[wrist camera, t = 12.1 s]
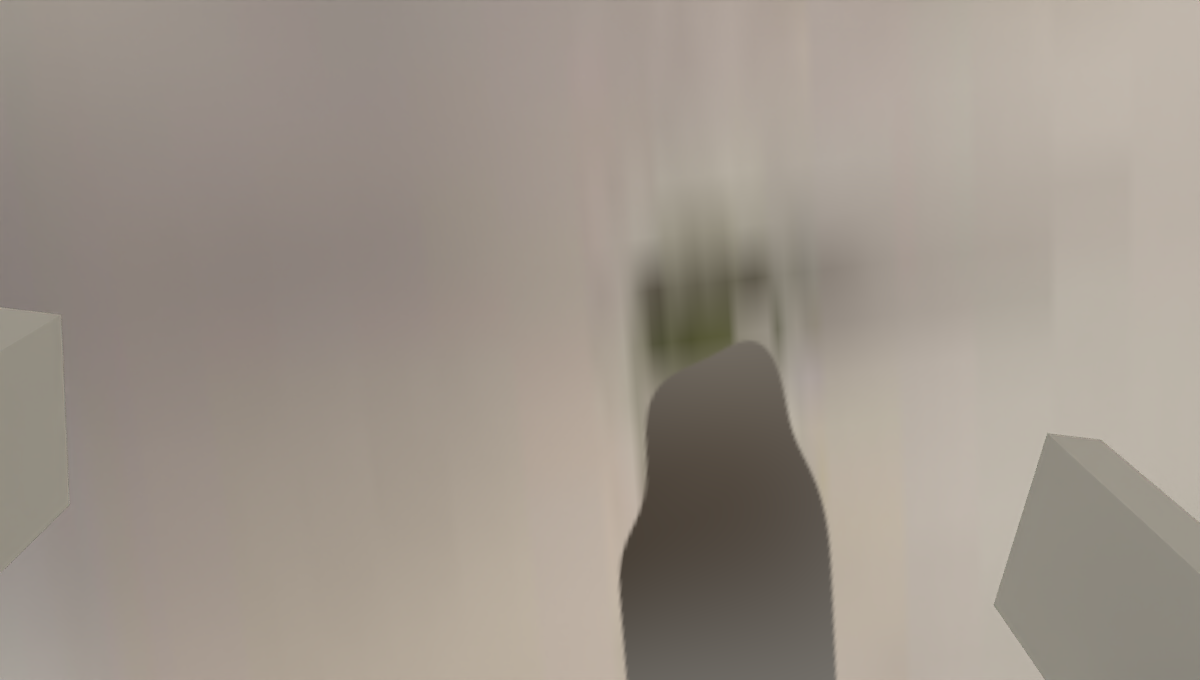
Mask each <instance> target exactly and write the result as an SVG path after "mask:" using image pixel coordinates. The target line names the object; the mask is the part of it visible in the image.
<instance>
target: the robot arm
mask: <svg viewBox="0 0 1200 680" xmlns="http://www.w3.org/2000/svg"><path fill="white" fill-rule="evenodd" d="M68 506H69V482H68V459H67V436H66V413H65V390H64V367H63V344H62V321H61V314H52V313H44V312H36V311H27V310H19V309H11V308H2V307H0V573H1V572H2V571H3V570H4V569H5V568H6V567H7V566H8V565H9V564H10V563H11V562H12V561H13V560H14V559H15V558H16V557H17V556H18V555H19V554H20V553H21V552H22V551H23V550H24V549H25V548H26V547H27V546H28V545H29V544H30V543H31V542H32V541H34V540H35V539H36V538H37V537H38V536H39V535H40V534H41V533H42V532H43V531H44V530H45V529H46V528H47V527H48V526H49V525H50V524H51V523H52V522H53V521H54V520H55V519H56V518H57V517H58V516H59V515H60V514H61V513H62V512H63V511H64V510H65V509H66V508H67V507H68ZM994 606H995V608H996V609H997V610H998V612H999V613H1000V615H1001V616H1002V618H1003V619H1004V621H1005V622H1006V624H1007V625H1008V626H1009V628H1010V629H1011V631H1012V632H1013V634H1014V635H1015V637H1016V638H1017V640H1018V641H1019V643H1020V644H1021V645H1022V647H1023V648H1024V650H1025V651H1026V653H1027V654H1028V656H1029V657H1030V659H1031V660H1032V661H1033V663H1034V664H1035V666H1036V667H1037V669H1038V670H1039V672H1040V673H1041V675H1042V676H1043V677H1044V679H1045V680H1200V523H1199V522H1198V521H1197V520H1196V519H1195V518H1193V517H1192V516H1191V515H1190V514H1189V513H1188V512H1186V511H1185V510H1184V509H1183V508H1182V507H1180V506H1179V505H1178V504H1177V503H1176V502H1174V501H1173V500H1172V499H1171V498H1170V497H1168V496H1167V495H1166V494H1165V493H1164V492H1163V491H1161V490H1160V489H1159V488H1158V487H1157V486H1155V485H1154V484H1153V483H1152V482H1151V481H1149V480H1148V479H1147V478H1146V477H1145V476H1143V475H1142V474H1141V473H1140V472H1139V471H1138V470H1136V469H1135V468H1134V467H1133V466H1132V465H1130V464H1129V463H1128V462H1127V461H1126V460H1124V459H1123V458H1122V457H1121V456H1120V455H1119V454H1117V453H1116V452H1115V451H1114V450H1113V449H1111V448H1110V447H1109V446H1108V445H1107V444H1105V443H1104V442H1103V441H1102V440H1098V439H1090V438H1082V437H1073V436H1065V435H1057V434H1049V433H1047V436H1046V439H1045V442H1044V446H1043V449H1042V452H1041V455H1040V458H1039V462H1038V465H1037V468H1036V471H1035V474H1034V478H1033V481H1032V484H1031V487H1030V490H1029V494H1028V497H1027V500H1026V503H1025V506H1024V510H1023V513H1022V516H1021V519H1020V522H1019V526H1018V529H1017V532H1016V535H1015V538H1014V542H1013V545H1012V548H1011V551H1010V554H1009V558H1008V561H1007V564H1006V567H1005V570H1004V574H1003V577H1002V580H1001V583H1000V586H999V590H998V593H997V596H996V599H995V602H994Z"/></svg>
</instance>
